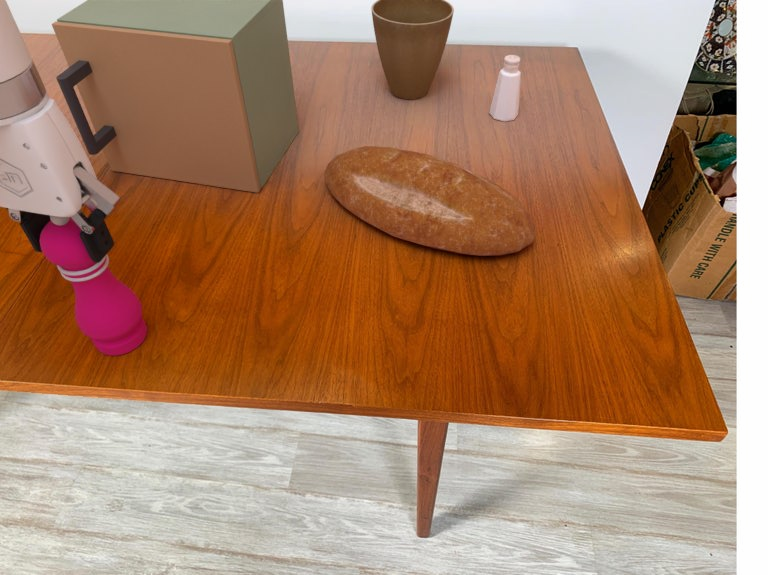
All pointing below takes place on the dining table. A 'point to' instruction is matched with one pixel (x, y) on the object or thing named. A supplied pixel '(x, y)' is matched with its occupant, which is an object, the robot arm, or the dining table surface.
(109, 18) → the cupboard
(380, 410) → the dining table surface
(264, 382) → the dining table surface
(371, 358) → the dining table surface
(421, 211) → the bread
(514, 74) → the salt shaker
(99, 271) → the pepper mill
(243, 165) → the cupboard door
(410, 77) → the plant pot
